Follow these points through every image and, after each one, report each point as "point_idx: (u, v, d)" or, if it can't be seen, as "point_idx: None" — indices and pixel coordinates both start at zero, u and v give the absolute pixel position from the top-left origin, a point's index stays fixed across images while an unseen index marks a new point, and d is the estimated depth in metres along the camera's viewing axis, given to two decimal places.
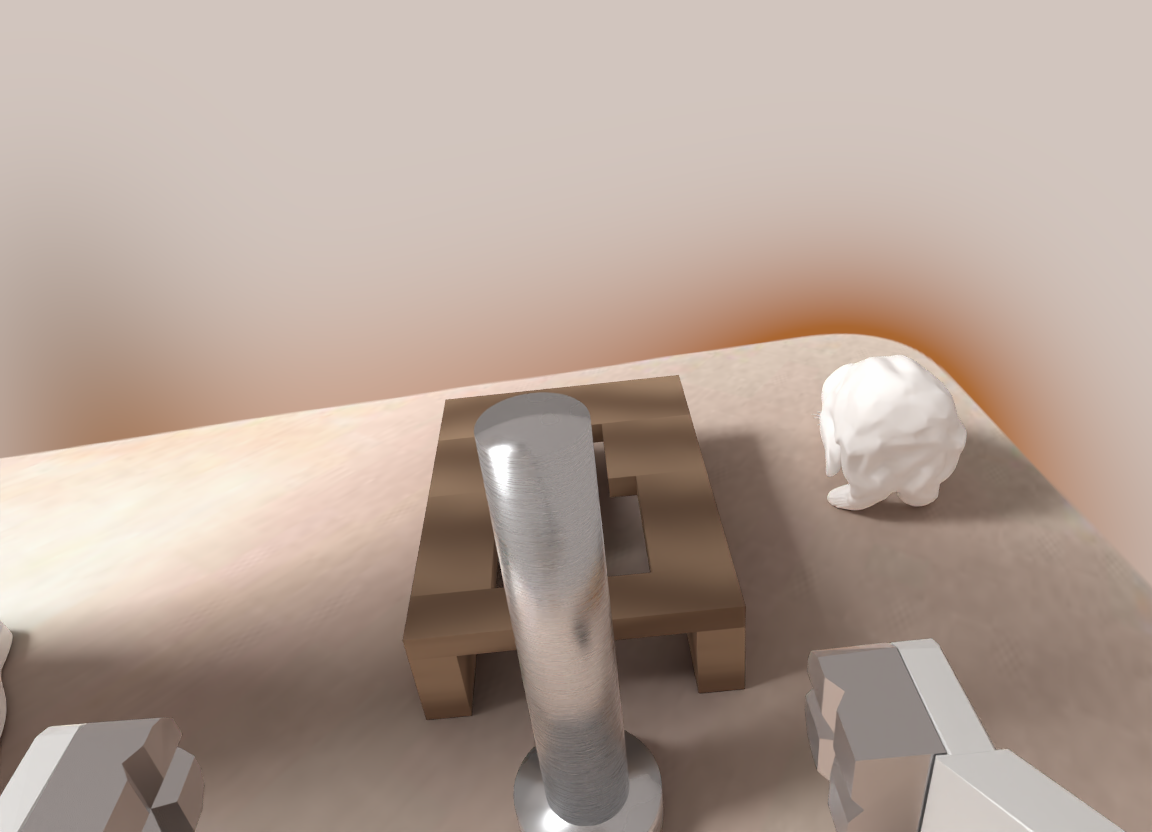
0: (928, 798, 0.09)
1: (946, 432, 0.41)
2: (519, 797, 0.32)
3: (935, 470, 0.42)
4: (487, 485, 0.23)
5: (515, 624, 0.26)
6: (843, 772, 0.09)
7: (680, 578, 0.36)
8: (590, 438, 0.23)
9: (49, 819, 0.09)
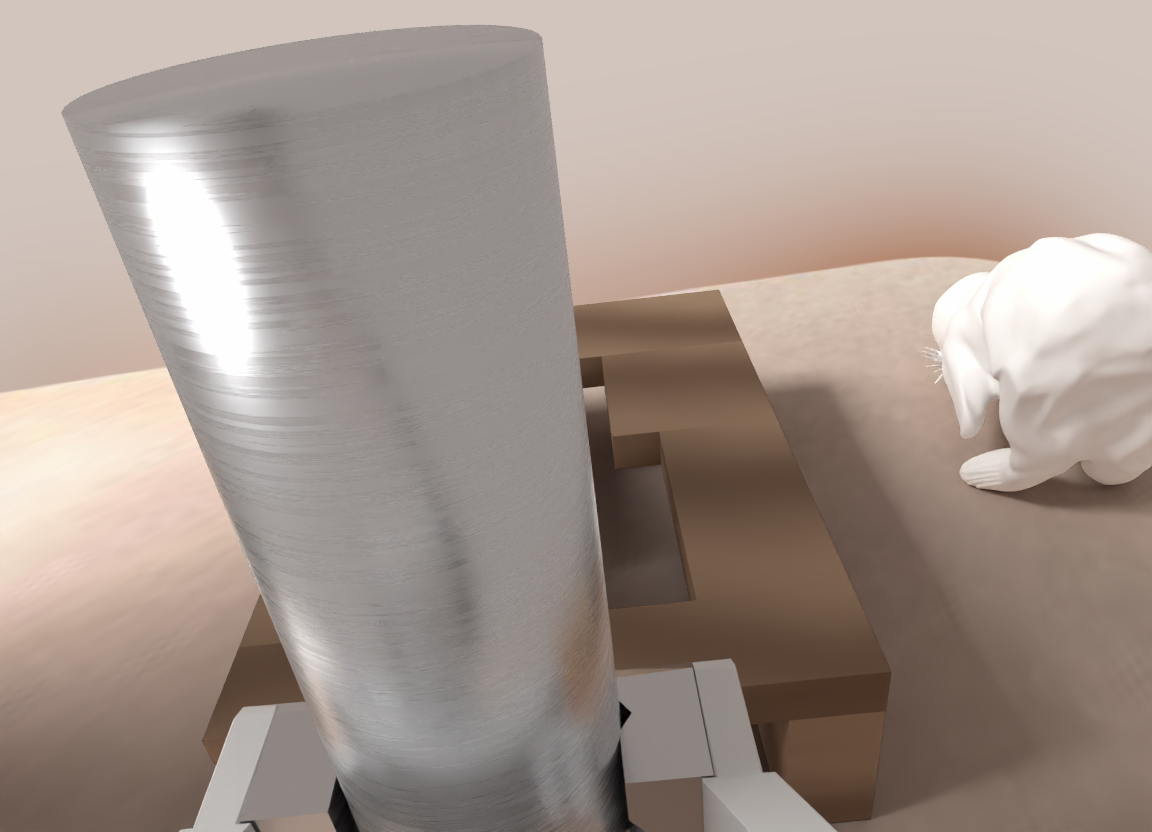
0: (704, 820, 0.09)
1: None
2: None
3: None
4: (146, 317, 0.06)
5: (339, 783, 0.09)
6: None
7: (752, 612, 0.18)
8: (541, 118, 0.06)
9: (271, 797, 0.09)
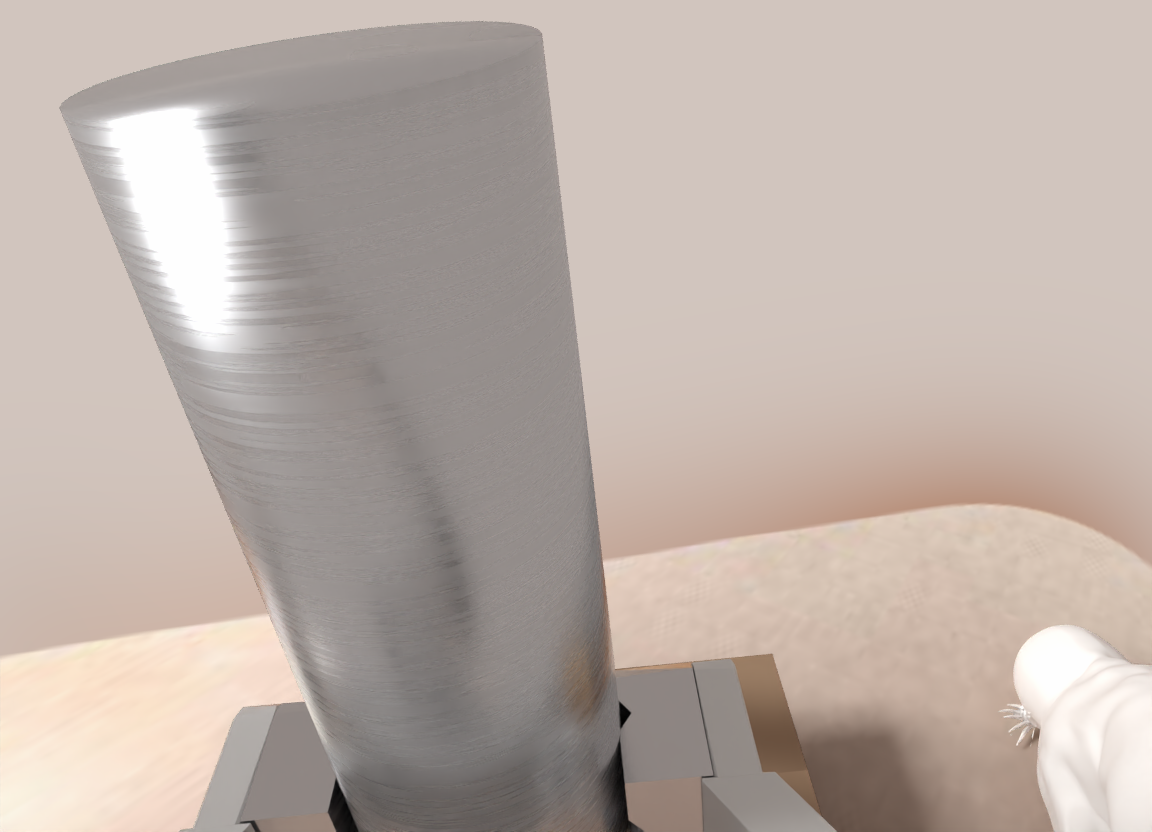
0: (704, 820, 0.09)
1: None
2: None
3: None
4: None
5: None
6: None
7: None
8: (541, 114, 0.06)
9: (271, 797, 0.09)
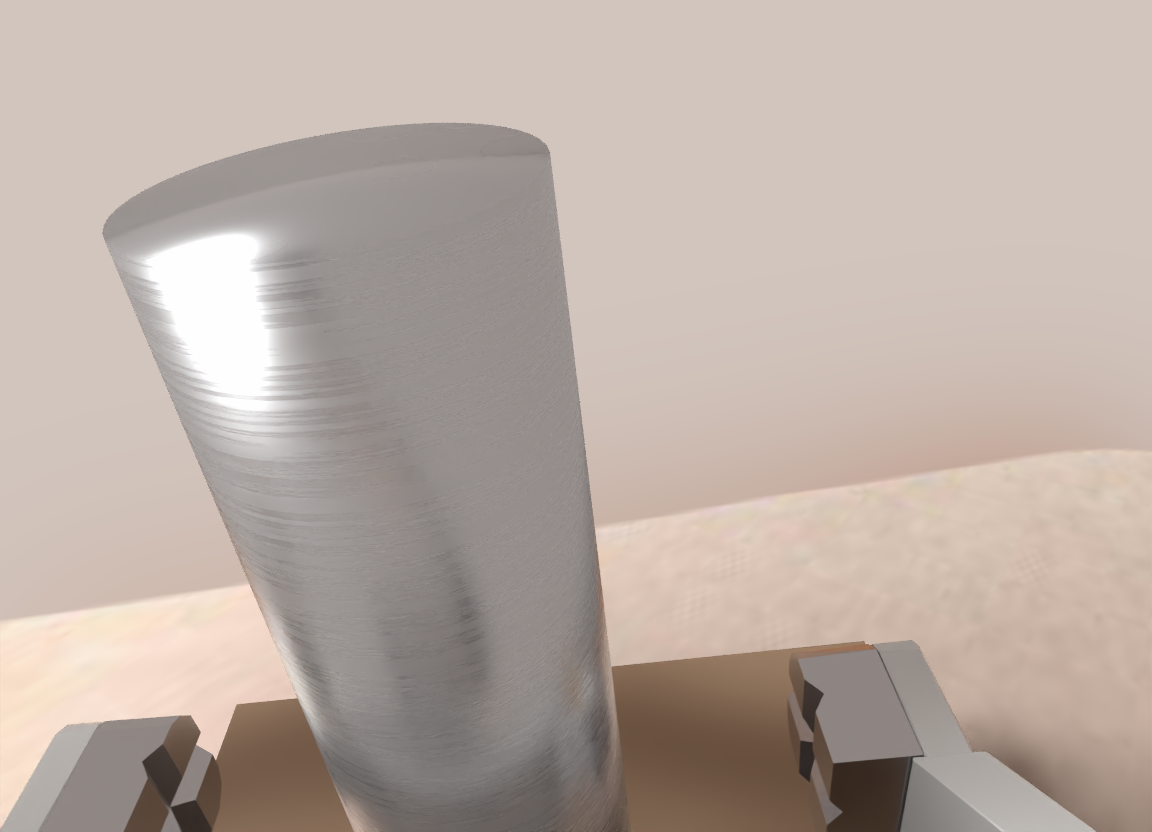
0: (905, 800, 0.09)
1: None
2: None
3: None
4: None
5: (353, 830, 0.09)
6: (822, 774, 0.09)
7: None
8: (549, 231, 0.06)
9: (72, 816, 0.09)
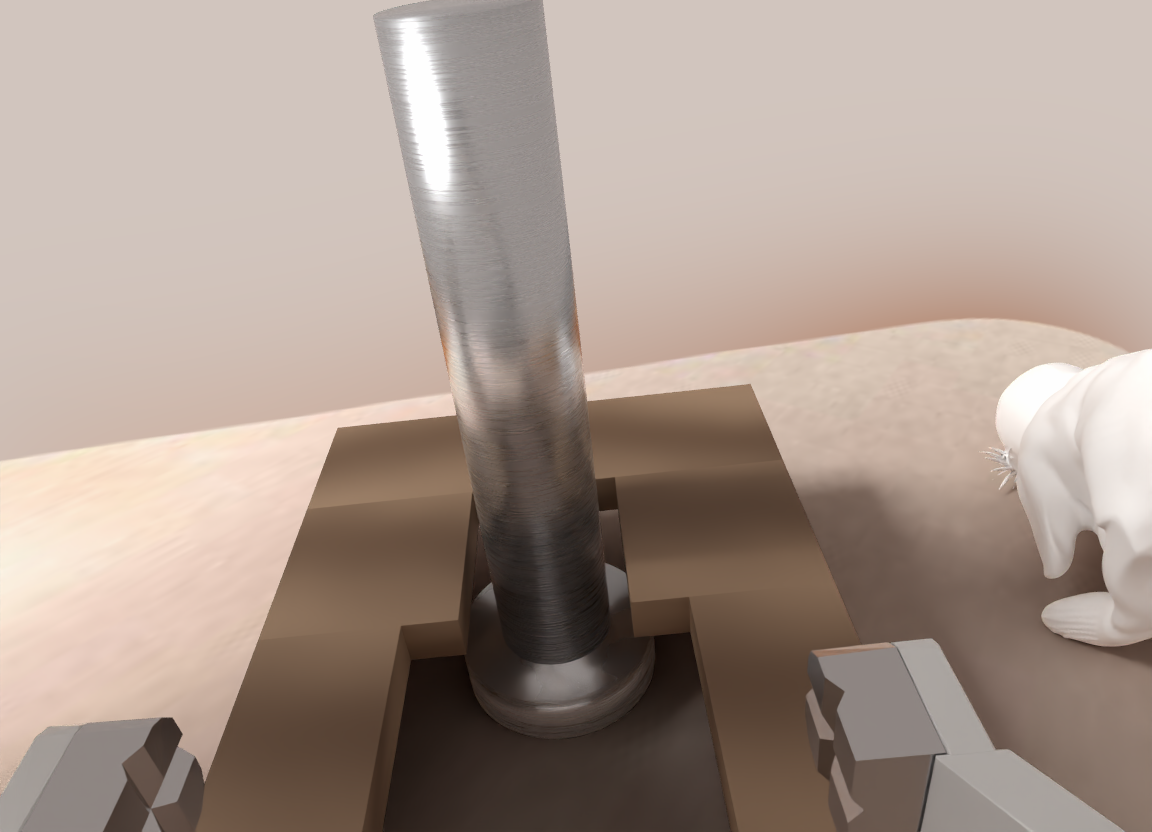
0: (928, 798, 0.09)
1: None
2: (468, 635, 0.24)
3: None
4: (394, 98, 0.16)
5: (447, 347, 0.19)
6: (843, 772, 0.09)
7: None
8: (541, 23, 0.16)
9: (50, 819, 0.09)
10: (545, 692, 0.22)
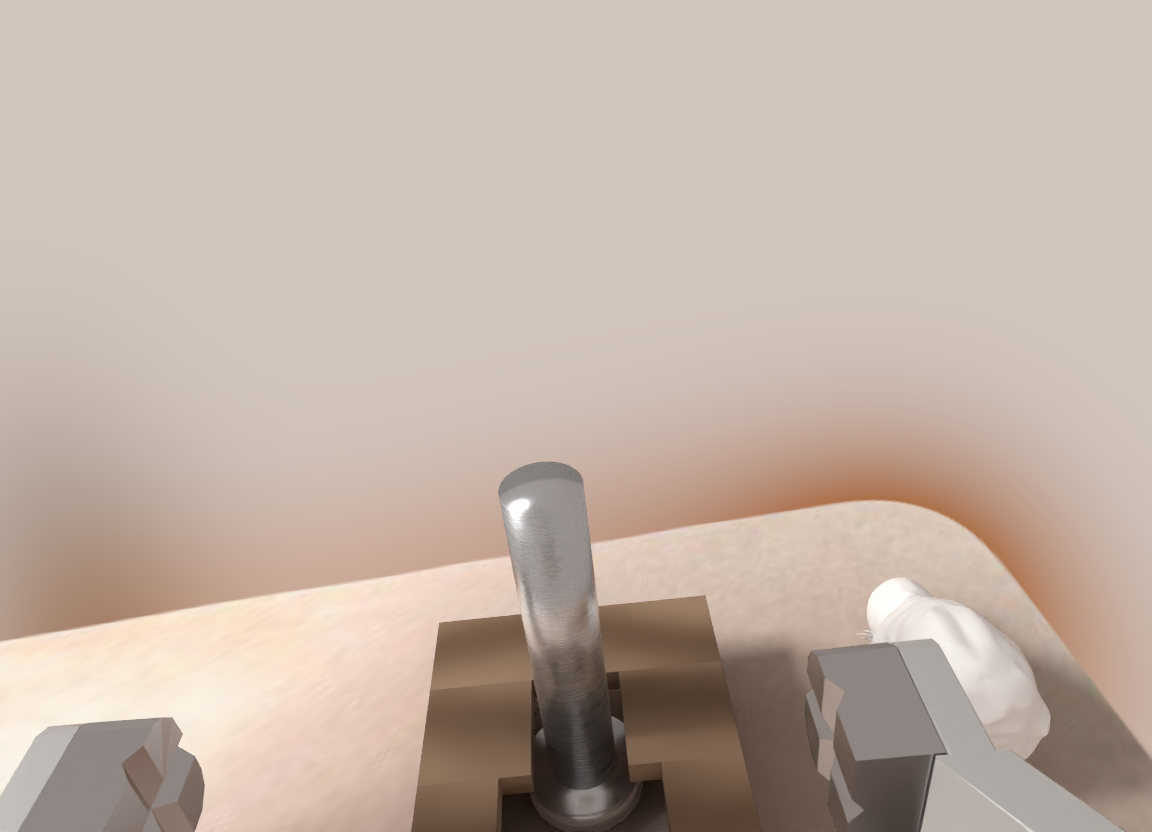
0: (927, 798, 0.09)
1: (1028, 720, 0.35)
2: None
3: None
4: (508, 532, 0.32)
5: (527, 633, 0.34)
6: (843, 772, 0.09)
7: None
8: (583, 498, 0.31)
9: (50, 819, 0.09)
10: (578, 808, 0.38)
